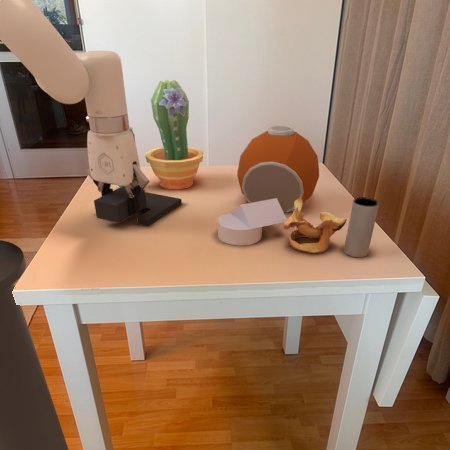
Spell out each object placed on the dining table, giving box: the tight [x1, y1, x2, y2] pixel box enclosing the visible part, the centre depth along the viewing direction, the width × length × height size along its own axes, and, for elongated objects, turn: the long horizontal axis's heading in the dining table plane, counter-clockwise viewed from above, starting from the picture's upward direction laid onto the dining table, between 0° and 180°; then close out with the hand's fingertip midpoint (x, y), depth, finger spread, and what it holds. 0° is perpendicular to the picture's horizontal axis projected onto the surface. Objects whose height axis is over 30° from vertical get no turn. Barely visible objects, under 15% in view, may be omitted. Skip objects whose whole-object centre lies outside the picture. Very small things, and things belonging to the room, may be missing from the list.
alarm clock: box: [236, 125, 320, 213], centre depth 98 cm, size 19×18×17 cm
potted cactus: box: [144, 79, 204, 190], centre depth 107 cm, size 15×15×25 cm
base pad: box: [136, 191, 183, 227], centre depth 98 cm, size 14×14×2 cm
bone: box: [283, 198, 347, 255], centre depth 82 cm, size 12×10×8 cm
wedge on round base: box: [217, 198, 288, 247], centre depth 86 cm, size 9×7×13 cm
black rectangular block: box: [93, 186, 147, 224], centre depth 92 cm, size 6×10×4 cm, turn 154°
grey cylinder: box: [343, 196, 380, 258], centre depth 79 cm, size 4×4×10 cm
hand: (122, 210), depth 92 cm, fingers closed on black rectangular block, 6 cm apart
